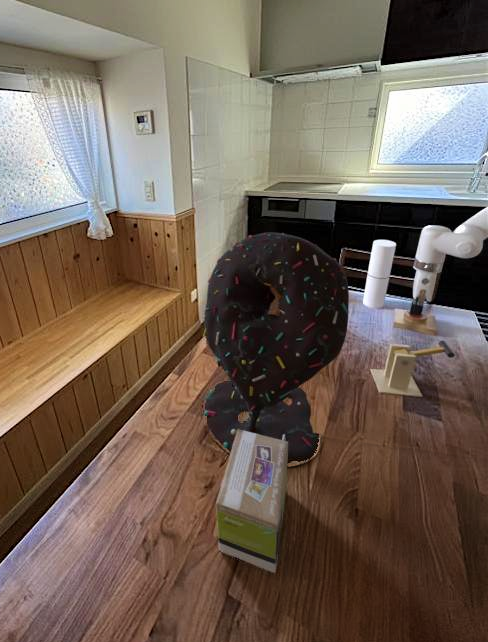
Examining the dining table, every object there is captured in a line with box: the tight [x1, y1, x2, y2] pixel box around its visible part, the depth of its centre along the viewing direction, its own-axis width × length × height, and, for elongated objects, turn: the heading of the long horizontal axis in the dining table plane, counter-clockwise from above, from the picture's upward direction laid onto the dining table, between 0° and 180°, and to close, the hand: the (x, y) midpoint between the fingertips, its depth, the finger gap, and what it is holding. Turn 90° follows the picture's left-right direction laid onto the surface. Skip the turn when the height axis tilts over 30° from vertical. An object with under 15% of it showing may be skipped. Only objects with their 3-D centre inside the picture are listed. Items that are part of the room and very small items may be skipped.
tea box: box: [215, 429, 288, 574], centre depth 60 cm, size 15×10×15 cm, turn 159°
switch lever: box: [394, 340, 455, 358], centre depth 86 cm, size 12×5×2 cm, turn 77°
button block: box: [392, 307, 438, 337], centre depth 115 cm, size 12×10×4 cm
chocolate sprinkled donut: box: [202, 232, 350, 464], centre depth 77 cm, size 30×32×45 cm
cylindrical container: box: [362, 239, 397, 309], centre depth 125 cm, size 7×7×25 cm
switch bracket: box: [370, 343, 423, 398], centre depth 89 cm, size 10×9×12 cm
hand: (415, 313), depth 115 cm, fingers closed
